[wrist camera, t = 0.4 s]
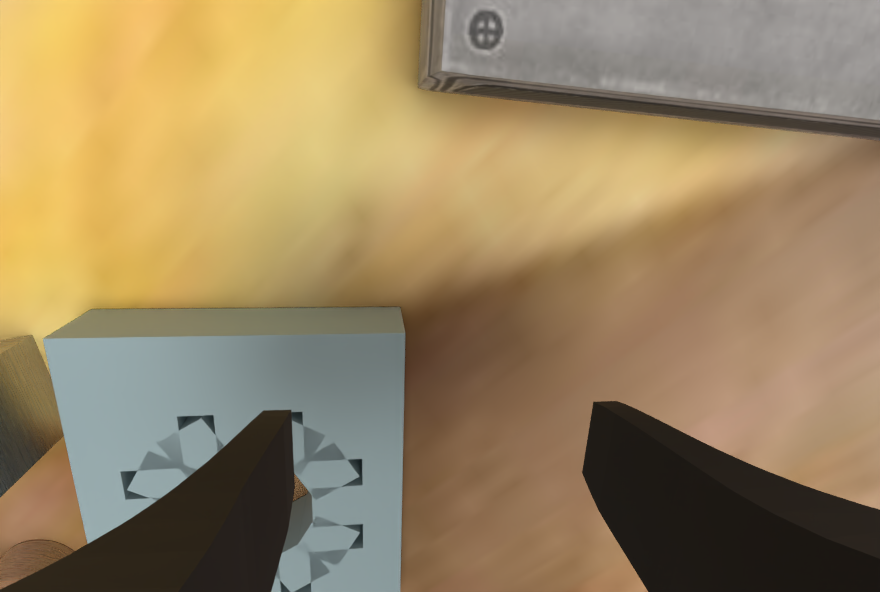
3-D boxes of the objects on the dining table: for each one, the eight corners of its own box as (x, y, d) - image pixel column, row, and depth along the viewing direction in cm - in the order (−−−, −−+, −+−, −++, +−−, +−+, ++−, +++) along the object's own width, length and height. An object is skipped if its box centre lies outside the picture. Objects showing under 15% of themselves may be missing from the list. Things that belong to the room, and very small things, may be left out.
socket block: (395, 581, 25) (399, 637, 22) (145, 604, 23) (114, 668, 21) (400, 307, 21) (405, 333, 18) (91, 309, 19) (43, 338, 16)
